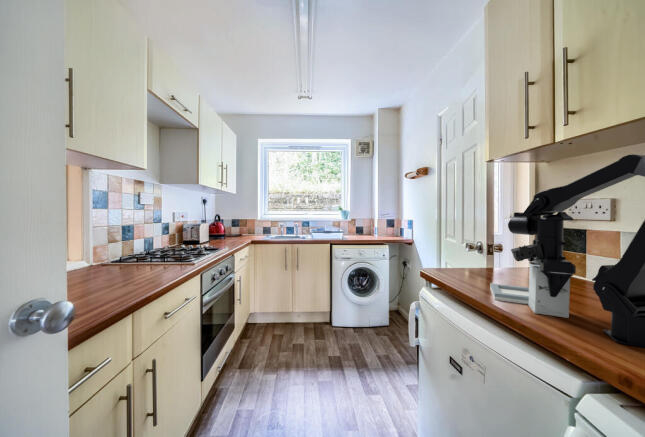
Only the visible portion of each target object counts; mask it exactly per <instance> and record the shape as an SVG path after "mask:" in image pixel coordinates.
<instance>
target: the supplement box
mask: <svg viewBox="0 0 645 437" xmlns="http://www.w3.org/2000/svg"><path fill="white" fill-rule="evenodd" d="M540 270H541V269H540V265H532V264H530V263H529V271H528V272H529V274H528V275H529V278H528V287H529V304H528V306H529V308H530V309H531V310H532V312H533V313H534V314H537V315H538V314H540V315H547V316H552V317H553V316H554V317H561V318H564V319H565V318H566V319H569V317H570V294H571V293H570V290H571V289H570V288H571V277H570V278H569V280H568V281H567V282H566V284H565V285H564V286H563V288H562V289H561V291H560V292H559V294H558V295H557V296H556V297H551V296H550V292H549V287H548V281H547V277H546V275H544V274H543V273H542V272H541V271H540Z"/></svg>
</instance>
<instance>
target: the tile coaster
mask: <svg viewBox="0 0 645 437" xmlns="http://www.w3.org/2000/svg"><path fill="white" fill-rule="evenodd" d="M489 284H490V285H489V286H490V287H489V289H490V292H491V295H492V297H493V299H494V301H502V302H509V303H514V304H515V303H518V304H522V305H523V304H525V305H529V286H528V287H527V286H519V285H510V284H509V285H508V284H500V283H493V282H491V283H489Z"/></svg>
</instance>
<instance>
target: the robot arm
mask: <svg viewBox="0 0 645 437" xmlns="http://www.w3.org/2000/svg"><path fill="white" fill-rule="evenodd" d="M636 176H640V177H645V154H627V155H624V156H622V157H621V158H619V159H618V160H616V161H614V162H612V163H610V164H608V165H605V166H604V167H602V168H600V169H597V170H595V171H593V172H591V173H589V174H587V175H585V176H583V177H580V178H578V179H577V180H575V181H572V182H569V183H568V184H565V185H562V186H557V187H551V188H548V189H546V190H545V189H544V190H542V191H539V192H537V193H535V194H534V195H533V197H532V198H533V199H532V201H531V202H530V203H529V204H528V205H527V208H525V209H524V211H523V212H513V216H512V217H511V218H510V220H509V222H507V227H508V230H509V231H510V232H511V234H514V235H525V236H526V235H528V236H535V235H536V236H535V238H534V239H533V240H532V244H527V245H526V244H524V245H523V246H520V245H519V246H518V247H514V248H511V249H510V251H511V253H512V256H513V258H514V261H516V262H522V261H524V260H527V261H528V263H529V265H530V264H532V265H540V269H541V270H540V271H541V272H542V273H543V274H544V275H546V277H547V281H548V287H549V292H550V296H551V297H556V296H557V295H558V294H559V292H560V291H561V289H562V288H563V286H564V285H565V284H566V282H567V281H568V280H569V278H570V279H571V277H573V276H574V274H576V273H577V272H576V267H577V266H576V265H575V264H574V263H573V262H571V261H569V260H567V259H566V256H564V246H566V244H567V243H566V241H564V226H565V225H564V221H565V222H566V221H567V222H573V221H574V217H572V216H571V215H569V214H568V213H567V212H566V210H568V209H569V208H572V207H573V206H574V205H575V204H576V203H577V202H578V201H580V200H581V199H583V198H585V197H587V196H589V195H591V194H595V193H597V192H600V191H603V190H605V189H606V188H607V189H608V188H609V187H612V186H613V185H616V184H619V183H622V182H624V181H626V180H629V179H631V178H634V177H636ZM597 271H598V272H597V274H596V275H595V277H593V278H592V279H591V281H592V282H594V283H593V285H592V288H593V291H594V292H595V295H596V296H597V297H598V299H599V301H600V303H601V306H602V309H603V310H604V311H606V312H609V313H611V321H610V323H611V324H610V329H606V328H605V329H603V332H604V333H605V335H607V336H608V337H609V338H611V339H612V340H613V341H614V342H616V343H618V344H623V345H629V346H634V347H640V348H645V219H644V220H643V221H642V223H641V225H640V226H639V228H638V229H637V231H636V234H634V237H633V238H632V239H631V242H630V243H629V245H628V246H627V248H626V250H625V251H624V253H623V254H622V256H621V257H620V260H618V262H617V263H615V264H607V265H606V264H605V265H603V264H602V265H601V266H600V267H599V268H598V270H597Z"/></svg>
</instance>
